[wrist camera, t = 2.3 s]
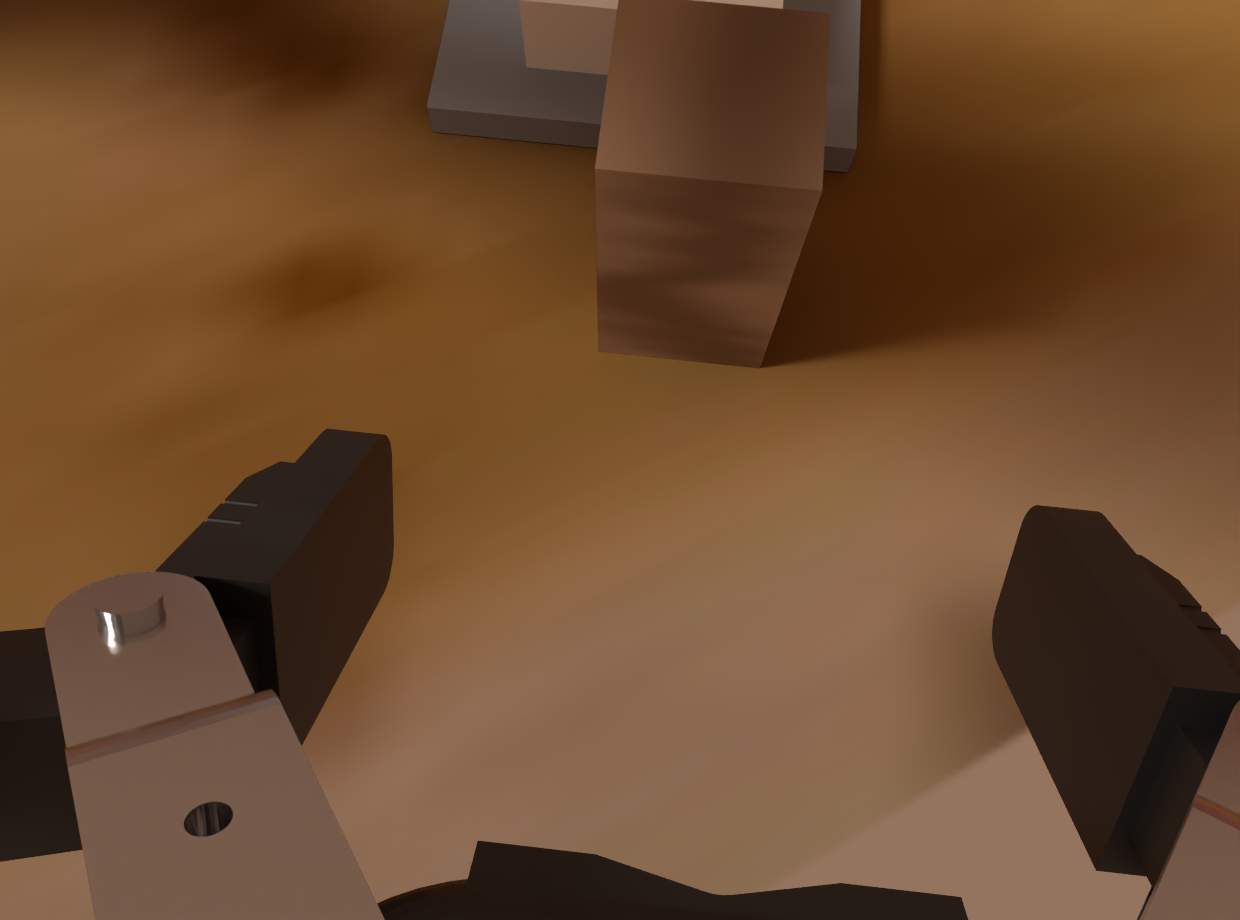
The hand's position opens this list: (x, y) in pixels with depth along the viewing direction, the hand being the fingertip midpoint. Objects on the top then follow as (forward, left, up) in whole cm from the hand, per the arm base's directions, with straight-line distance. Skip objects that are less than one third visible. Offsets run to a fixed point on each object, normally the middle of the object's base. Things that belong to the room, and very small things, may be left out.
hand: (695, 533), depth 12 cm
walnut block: (0, +12, -15) cm, 19 cm away
